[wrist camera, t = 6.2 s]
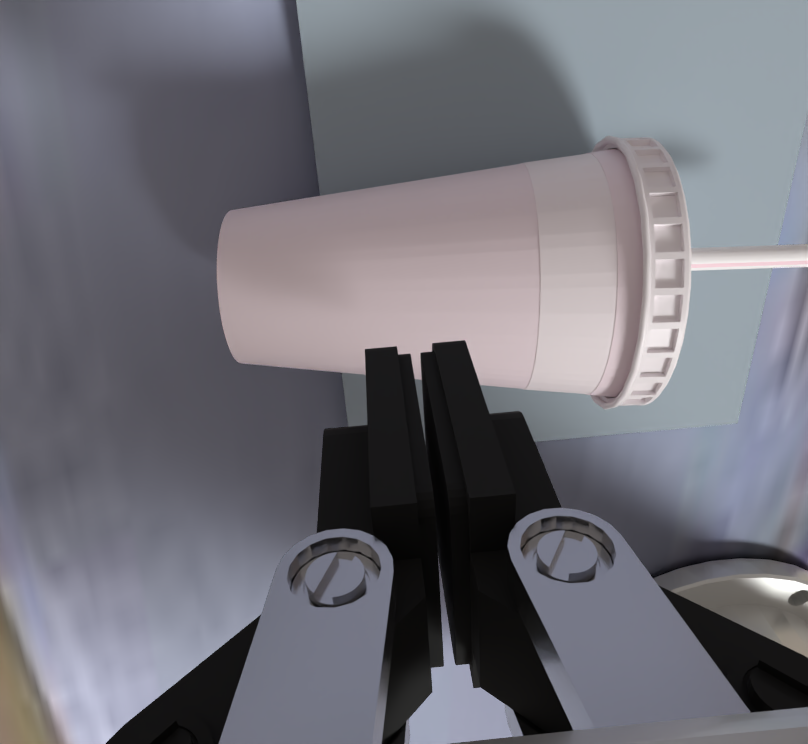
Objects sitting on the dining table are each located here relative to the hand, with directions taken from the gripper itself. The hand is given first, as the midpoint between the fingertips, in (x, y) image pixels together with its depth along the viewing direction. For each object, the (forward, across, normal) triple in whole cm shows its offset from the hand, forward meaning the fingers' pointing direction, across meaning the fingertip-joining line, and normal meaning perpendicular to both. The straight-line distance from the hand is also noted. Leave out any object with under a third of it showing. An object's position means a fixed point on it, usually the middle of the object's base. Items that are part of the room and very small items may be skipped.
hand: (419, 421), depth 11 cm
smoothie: (+6, +4, 0) cm, 7 cm away
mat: (+9, -5, 0) cm, 10 cm away
